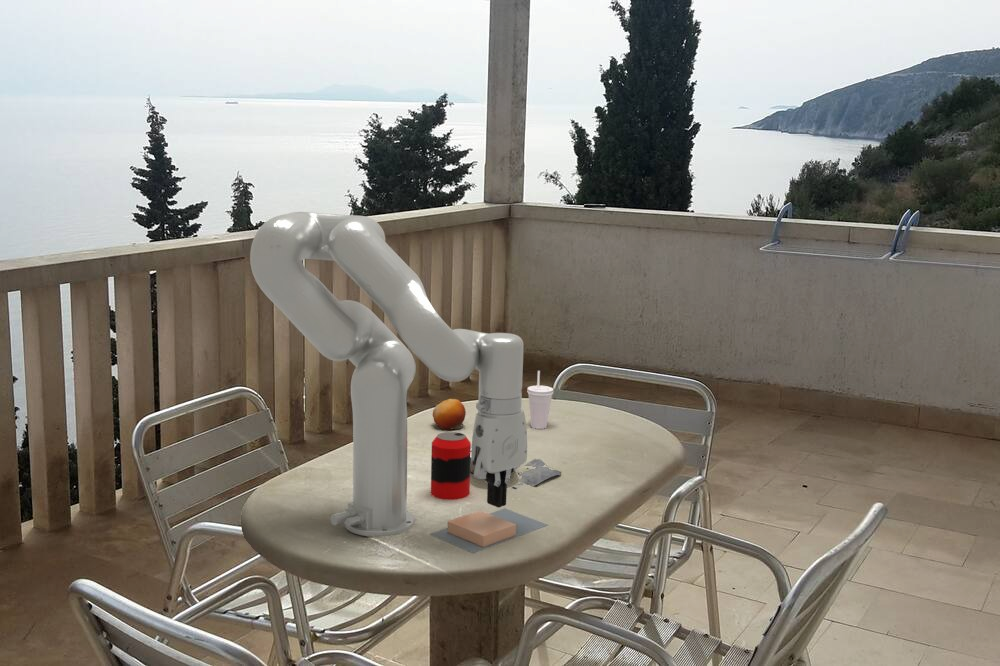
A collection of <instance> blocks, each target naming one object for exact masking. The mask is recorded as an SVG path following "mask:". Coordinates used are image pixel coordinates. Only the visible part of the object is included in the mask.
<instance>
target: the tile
mask: <svg viewBox="0 0 1000 666" xmlns="http://www.w3.org/2000/svg"><path fill="white" fill-rule="evenodd" d="M447 528H448V531H447V532H449V533H451V534H453V535H456V536H458V537H460V538H463V539H465V540H468V541H470V542H472V543H475V544H477V545H479V546H482V547H485V546H488V545H491V544H494V543H496V542H499V541H502V540H504V539H507V538H510V537H512V536H515V535H516V524H514V523H511V522H509V521H506V520H504V519H501V518H498V517H496V516H493V515H491V514H490V513H488V512H485V511H482V510H481V509H480V510H477V511H474V512H471V513H468V514H465V515H462V516H459V517H456V518H454V519H450V520H448V521H447Z"/></svg>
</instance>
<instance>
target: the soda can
mask: <svg viewBox="0 0 1000 666" xmlns="http://www.w3.org/2000/svg"><path fill="white" fill-rule="evenodd" d="M471 448H472V442H470V440H469V439H468V438H467V436H466V434H464V433H461V432H457V431H455V432H454V431H447V432H440V433H438V434H437V435H436V436H435V438H434V439H433V440H432V441H431V455H430V457H431V459H430V461H431V462H430V463H431V465H430V466H431V469H430V495H431V496H432V497H434V498H436V499H441V500H447V501H448V500H449V501H450V500H451V501H452V500H461V499H465V498H467V497H469V496H470V489H471V488H470V487H471V486H470V485H471V483H470V482H471V481H470V480H471Z"/></svg>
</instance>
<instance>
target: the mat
mask: <svg viewBox="0 0 1000 666" xmlns="http://www.w3.org/2000/svg"><path fill="white" fill-rule="evenodd" d="M489 514H491V515H493V516H496V517H498V518H501V519H504V520H506V521H509V522H511V523H514V524H516V535H515V536H512V537H510V538H507V539H504V540H502V541H499V542H496V543H494V544H491V545H488V546H485V547H482V546H479V545H477V544H475V543H472V542H470V541H468V540H465V539H463V538H460V537H458V536H456V535H453V534H451V533H449V532H447V531H448V527H446V528H443V529H440V530H437V531H434V532H431V533H429V535H430V536H432V537H435V538H437V539H439V540H442V541H444V542H446V543H447V544H451V545H453V546H455V547H458V548H460V549H462V550H465V551H467V552H469V553H472V554H475V553H478V552H480V551H483V550H486V549H488V548H491V547H494V546H497V545H499V544H501V543H505V542H507V541H510V540H512V539H515V538H518V537H520V536H524V535H527V534H529V533H531V532H534V531H536V530H539V529H542V528H545V527H547V526H549V524H547V523H545V522H542V521H539V520H536V519H534V518H531V517H528V516H526V515H524V514H521V513H519V512H516V511H513V510H510V509H508V508H501V509H499V510H496V511H493V512H490V513H489Z"/></svg>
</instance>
